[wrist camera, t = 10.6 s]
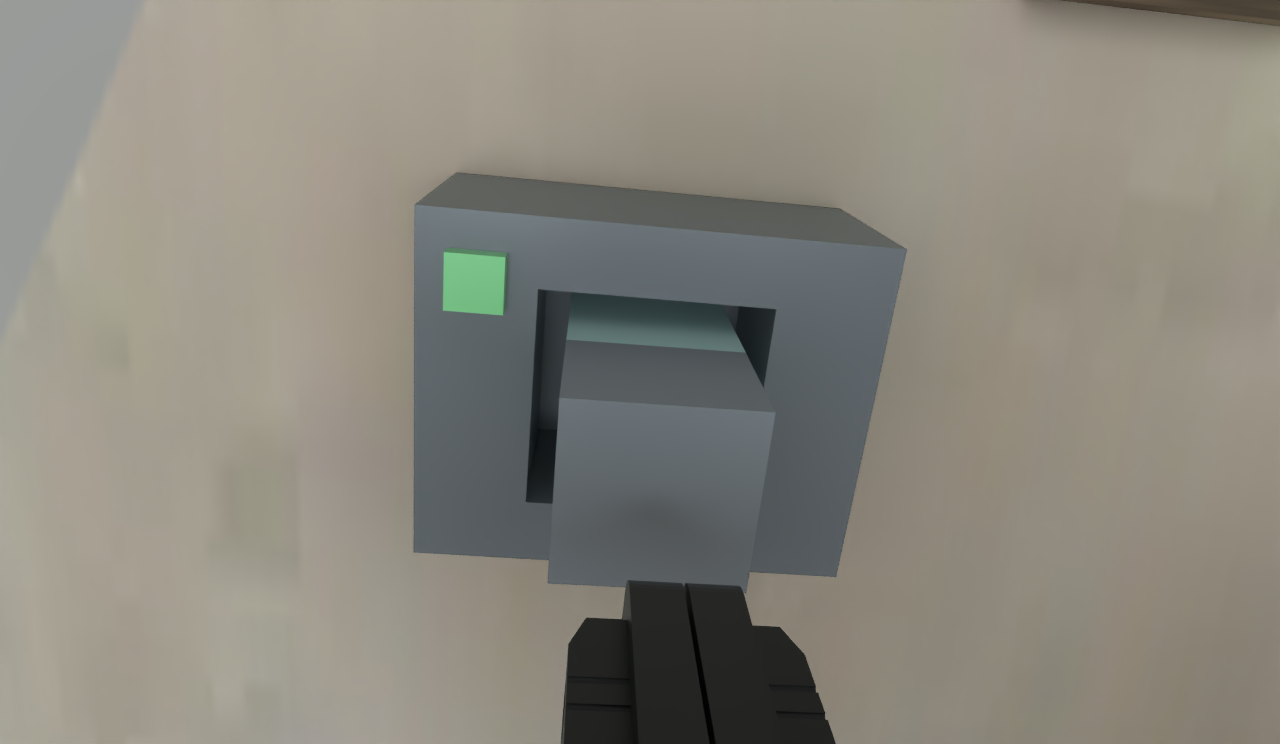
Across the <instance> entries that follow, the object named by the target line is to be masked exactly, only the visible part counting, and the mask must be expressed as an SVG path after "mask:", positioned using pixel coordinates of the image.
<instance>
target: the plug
mask: <svg viewBox="0 0 1280 744" xmlns="http://www.w3.org/2000/svg"><path fill="white" fill-rule="evenodd" d="M775 414H776V412H775V410H774V408H773V406H772V404H771V402H770V400H769V398H768V396H767V394H766V392H765V390H764V388H763V386H762V384H761V382H760V380H759V378H758V376H757V374H756V372H755V370H754V368H753V366H752V364H751V362H750V360H749V358H748V356H747V354H746V352H745V350H744V348H743V346H742V344H741V342H740V340H739V338H738V336H737V334H736V332H735V330H734V328H733V326H732V324H731V322H730V320H729V318H728V316H727V314H726V312H725V310H724V308H723V306H722V305H720V304H708V303H696V302H684V301H673V300H661V299H649V298H637V297H625V296H613V295H601V294H589V293H577V292H572V297H571V306H570V314H569V322H568V330H567V338H566V347H565V355H564V363H563V371H562V380H561V388H560V396H559V411H558V427H557V443H556V458H555V474H554V490H553V506H552V522H551V538H550V554H549V570H548V583H551V584H571V585H591V586H611V587H626V583H627V580H635V581H654V582H673V583H682V584H683V587H684V584H685V583H696V584H715V585H734V586H740V587H741V588H742V590H743V593H746V590H747V584H748V578H749V572H750V566H751V560H752V554H753V548H754V542H755V535H756V529H757V523H758V517H759V511H760V505H761V499H762V493H763V487H764V481H765V475H766V469H767V462H768V456H769V450H770V444H771V438H772V432H773V426H774V420H775Z"/></svg>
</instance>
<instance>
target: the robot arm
mask: <svg viewBox="0 0 1280 744" xmlns="http://www.w3.org/2000/svg"><path fill="white" fill-rule="evenodd" d="M561 744H836V743H835V740H834V737H833V734H832V731H831V729H830V726H829V723H828V720H825V711H824V709H823V706H822V703H821V700H820V697H819V694H818V693H816V686H815V683H814V680H813V677H812V674H811V671H810V669H809V666H808V663H807V660H806V657H805V655H804V653H803V652H802V651H801V650H800V649H799V648H798V647H797V646H796V645H795V643H794V642H793V641H792V640H791V639H790V638H789V637H788V636H787V635H786V634H785V632H784V631H783V630H782V629H781V628H780V627H770V626H752V623H751V619H750V615H749V612H748V608H747V604H746V601H745V597H744V594H743V590H742V588H741V587H740V586H734V585H715V584H696V583H685V584H684V587H683V584H682V583H673V582H654V581H635V580H627V583H626V589H625V597H624V606H623V616H622V619H602V618H586V619H585V620H584V622H583V623H582V625H581V626H580V628H579V629H578V631H577V632H576V634H575V635H574V637H573V638H572V640H571V641H570V643H569V645H568V658H567V670H566V683H565V695H564V708H563V720H562V733H561Z"/></svg>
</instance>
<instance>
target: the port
mask: <svg viewBox="0 0 1280 744" xmlns="http://www.w3.org/2000/svg"><path fill="white" fill-rule="evenodd" d="M906 251H907V249H905V248H904V247H902V246H900V245H899V244H897V243H895V242H894V241H892V240H891V239H889V238H887V237H886V236H884V235H882V234H881V233H879V232H877V231H876V230H874V229H872V228H871V227H869V226H868V225H866V224H864V223H863V222H861V221H859V220H858V219H856V218H854V217H853V216H851V215H850V214H848V213H846V212H845V211H843V210H841V209H837V208H826V207H816V206H805V205H794V204H784V203H773V202H763V201H752V200H741V199H731V198H720V197H710V196H699V195H689V194H678V193H667V192H657V191H646V190H636V189H625V188H614V187H604V186H593V185H583V184H572V183H561V182H551V181H540V180H530V179H519V178H508V177H498V176H487V175H477V174H466V173H455V174H454V175H453V176H451V177H450V178H449V179H447V180H446V181H445V182H443V183H442V184H441V185H440V186H438V187H437V188H436V189H434V190H433V191H432V192H430V193H429V194H428V195H427V196H425V197H424V198H423V199H421V200H420V201H419V202H417V203H416V204H415V229H414V552H417V553H434V554H452V555H469V556H486V557H503V558H520V559H537V560H549V554H550V538H551V522H552V506H553V490H554V474H555V458H556V443H557V427H558V411H559V396H560V388H561V380H562V371H563V363H564V355H565V347H566V338H567V330H568V322H569V314H570V306H571V297H572V292H577V293H589V294H601V295H613V296H625V297H637V298H649V299H661V300H673V301H684V302H696V303H708V304H720V305H722V306H723V308H724V310H725V312H726V314H727V316H728V318H729V320H730V322H731V324H732V326H733V328H734V330H735V332H736V334H737V336H738V338H739V340H740V342H741V344H742V346H743V348H744V350H745V352H746V354H747V356H748V358H749V360H750V362H751V364H752V366H753V368H754V370H755V372H756V374H757V376H758V378H759V380H760V382H761V384H762V386H763V388H764V390H765V392H766V394H767V396H768V398H769V400H770V402H771V404H772V406H773V408H774V410H775V412H776V414H775V420H774V426H773V432H772V438H771V444H770V450H769V456H768V462H767V469H766V475H765V481H764V487H763V493H762V499H761V505H760V511H759V517H758V523H757V529H756V535H755V542H754V548H753V554H752V560H751V566H750V572H760V573H777V574H794V575H812V576H829V577H836V575H837V570H838V565H839V561H840V556H841V552H842V547H843V542H844V538H845V533H846V528H847V524H848V519H849V515H850V510H851V505H852V501H853V496H854V492H855V487H856V482H857V478H858V473H859V468H860V464H861V459H862V455H863V450H864V445H865V441H866V436H867V432H868V427H869V422H870V418H871V413H872V408H873V404H874V399H875V395H876V390H877V385H878V381H879V376H880V371H881V367H882V362H883V358H884V353H885V348H886V344H887V339H888V335H889V330H890V325H891V321H892V316H893V311H894V307H895V302H896V298H897V293H898V288H899V284H900V279H901V275H902V270H903V265H904V261H905V256H906Z"/></svg>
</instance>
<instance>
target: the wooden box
mask: <svg viewBox="0 0 1280 744" xmlns="http://www.w3.org/2000/svg"><path fill="white" fill-rule="evenodd" d="M1064 1H1072V2H1081V3H1089V4H1098V5H1107V6H1115V7H1124V8H1132V9H1141V10H1149V11H1158V12H1166V13H1175V14H1183V15H1192V16H1200V17H1209V18H1217V19H1226V20H1234V21H1243V22H1251V23H1260V24H1269V25H1277V26H1280V0H1064Z"/></svg>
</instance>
